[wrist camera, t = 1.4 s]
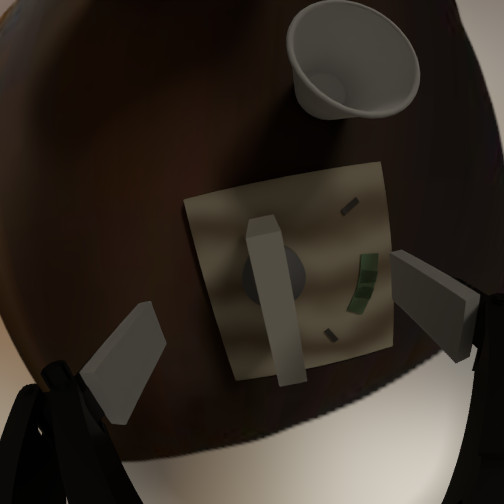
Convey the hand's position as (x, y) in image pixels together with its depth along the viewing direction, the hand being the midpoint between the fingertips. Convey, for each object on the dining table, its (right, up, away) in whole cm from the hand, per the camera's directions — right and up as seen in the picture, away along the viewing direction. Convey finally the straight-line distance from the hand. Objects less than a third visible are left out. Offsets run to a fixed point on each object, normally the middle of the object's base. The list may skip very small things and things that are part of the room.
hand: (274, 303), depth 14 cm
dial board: (+4, 0, +15) cm, 16 cm away
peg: (+1, -1, +15) cm, 15 cm away
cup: (+6, +19, +11) cm, 22 cm away
